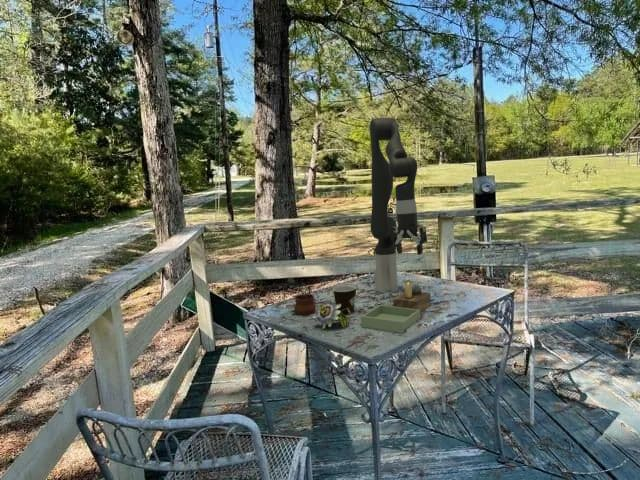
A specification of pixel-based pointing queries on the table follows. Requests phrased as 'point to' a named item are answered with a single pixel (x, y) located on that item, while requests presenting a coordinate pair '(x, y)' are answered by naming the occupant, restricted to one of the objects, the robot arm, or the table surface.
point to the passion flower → (330, 314)
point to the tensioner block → (413, 300)
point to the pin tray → (390, 318)
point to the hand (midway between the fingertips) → (409, 253)
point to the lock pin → (408, 290)
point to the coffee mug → (345, 298)
